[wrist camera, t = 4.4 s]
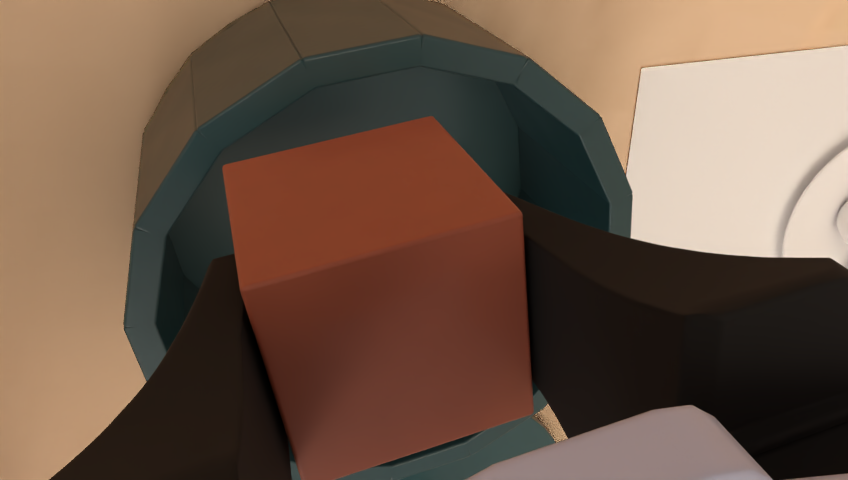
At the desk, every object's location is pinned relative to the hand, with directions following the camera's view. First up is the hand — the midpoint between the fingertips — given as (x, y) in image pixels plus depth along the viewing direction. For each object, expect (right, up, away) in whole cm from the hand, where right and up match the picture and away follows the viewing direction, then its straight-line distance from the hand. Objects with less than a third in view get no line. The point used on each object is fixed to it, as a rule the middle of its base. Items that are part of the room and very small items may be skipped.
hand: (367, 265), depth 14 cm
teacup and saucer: (+18, -1, +18) cm, 26 cm away
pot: (-1, +2, +10) cm, 10 cm away
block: (0, +1, +1) cm, 1 cm away
